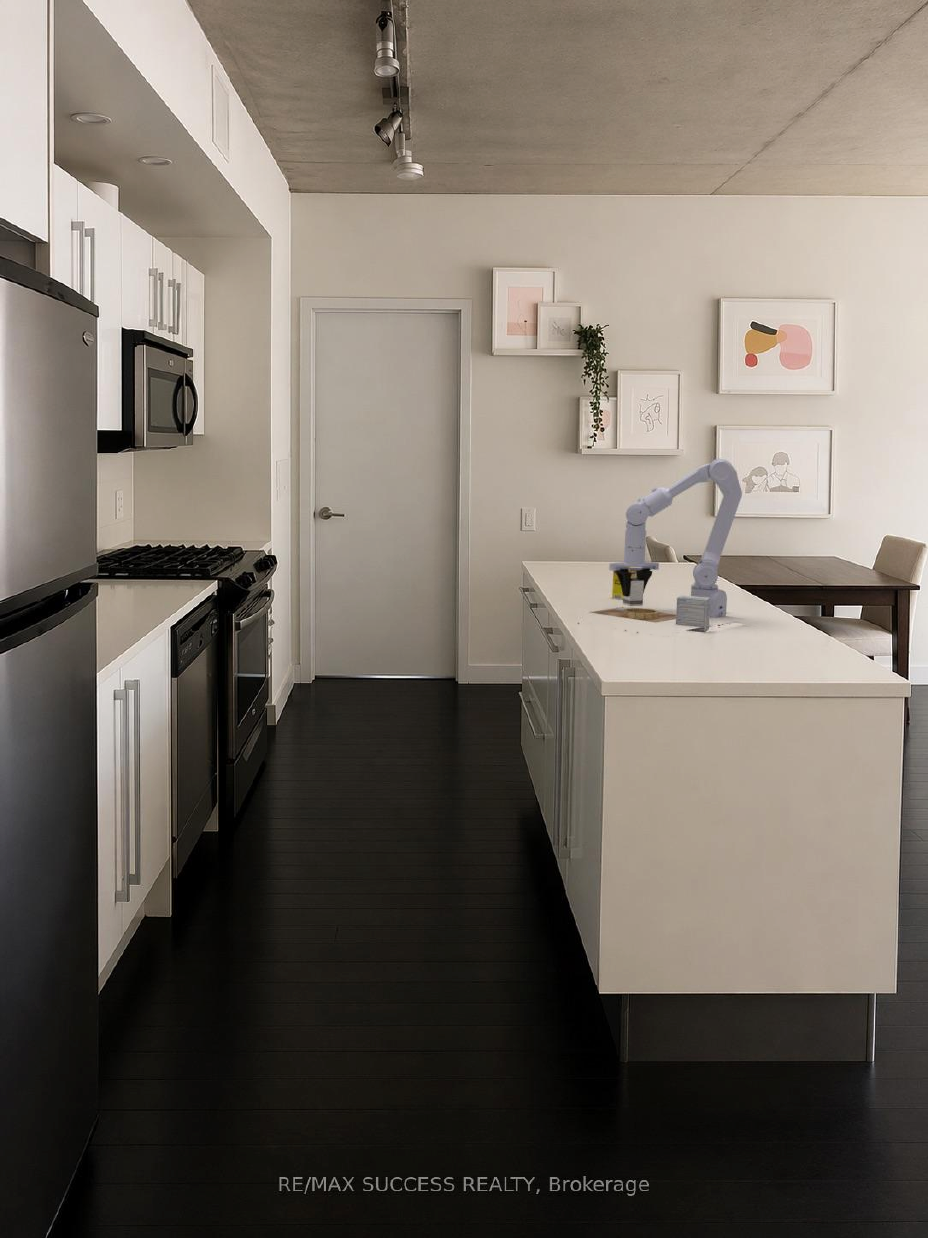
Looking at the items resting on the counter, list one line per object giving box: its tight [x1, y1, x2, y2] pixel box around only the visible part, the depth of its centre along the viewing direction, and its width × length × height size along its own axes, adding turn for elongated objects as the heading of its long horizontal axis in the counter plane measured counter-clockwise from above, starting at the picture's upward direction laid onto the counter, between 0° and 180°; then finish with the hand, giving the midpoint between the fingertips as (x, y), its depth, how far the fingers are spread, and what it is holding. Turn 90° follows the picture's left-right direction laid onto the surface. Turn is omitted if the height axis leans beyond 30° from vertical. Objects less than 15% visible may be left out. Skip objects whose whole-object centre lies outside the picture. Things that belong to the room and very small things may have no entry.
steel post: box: [622, 577, 644, 607], centre depth 316 cm, size 4×4×8 cm
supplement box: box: [611, 567, 637, 601], centre depth 341 cm, size 6×6×11 cm
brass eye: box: [624, 607, 660, 620], centre depth 306 cm, size 9×9×2 cm
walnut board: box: [589, 606, 676, 623], centre depth 311 cm, size 22×16×2 cm
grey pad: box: [614, 606, 635, 612], centre depth 317 cm, size 7×7×1 cm
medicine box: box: [675, 595, 710, 633], centre depth 295 cm, size 8×4×9 cm, turn 65°
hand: (632, 595), depth 316 cm, fingers closed on steel post, 4 cm apart
